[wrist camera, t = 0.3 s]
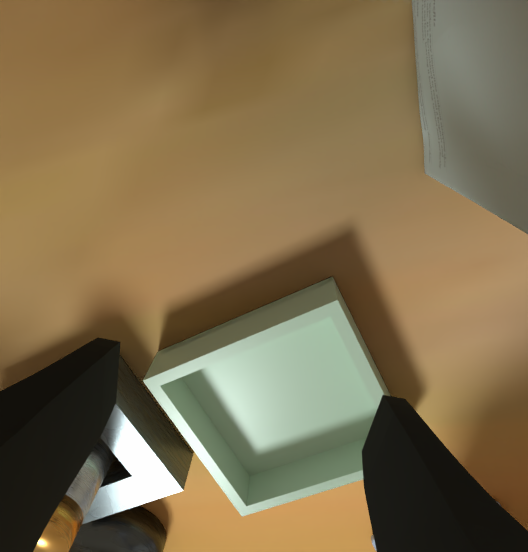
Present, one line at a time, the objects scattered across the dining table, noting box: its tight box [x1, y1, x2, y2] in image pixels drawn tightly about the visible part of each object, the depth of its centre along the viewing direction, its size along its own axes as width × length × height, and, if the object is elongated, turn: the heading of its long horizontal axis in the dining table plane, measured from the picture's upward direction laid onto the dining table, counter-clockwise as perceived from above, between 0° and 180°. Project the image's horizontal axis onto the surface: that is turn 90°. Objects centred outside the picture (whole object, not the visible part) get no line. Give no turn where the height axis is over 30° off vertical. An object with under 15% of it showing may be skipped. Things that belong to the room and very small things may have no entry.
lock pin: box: [33, 437, 115, 552], centre depth 22 cm, size 3×3×7 cm
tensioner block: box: [69, 355, 193, 552], centre depth 25 cm, size 15×11×3 cm
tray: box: [143, 277, 391, 516], centre depth 22 cm, size 10×10×2 cm
